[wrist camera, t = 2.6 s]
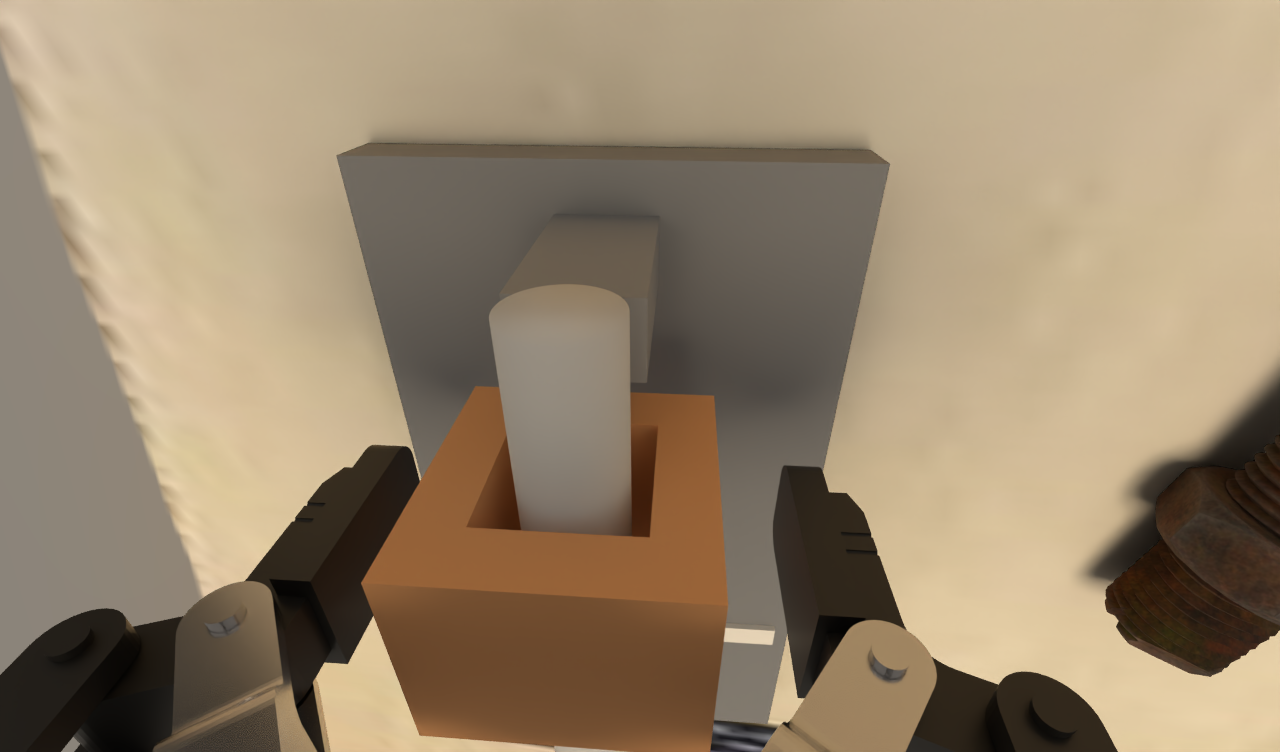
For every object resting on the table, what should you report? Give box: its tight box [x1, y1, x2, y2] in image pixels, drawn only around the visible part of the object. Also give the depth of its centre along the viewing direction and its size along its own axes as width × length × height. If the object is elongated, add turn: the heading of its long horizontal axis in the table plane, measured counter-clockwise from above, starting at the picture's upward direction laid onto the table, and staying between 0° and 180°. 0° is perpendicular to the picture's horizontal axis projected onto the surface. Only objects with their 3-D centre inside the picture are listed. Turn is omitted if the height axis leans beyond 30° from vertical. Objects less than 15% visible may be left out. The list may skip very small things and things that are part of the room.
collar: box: [361, 386, 728, 752], centre depth 11 cm, size 4×5×5 cm
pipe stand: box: [337, 143, 890, 752], centre depth 16 cm, size 22×12×8 cm, turn 0°
